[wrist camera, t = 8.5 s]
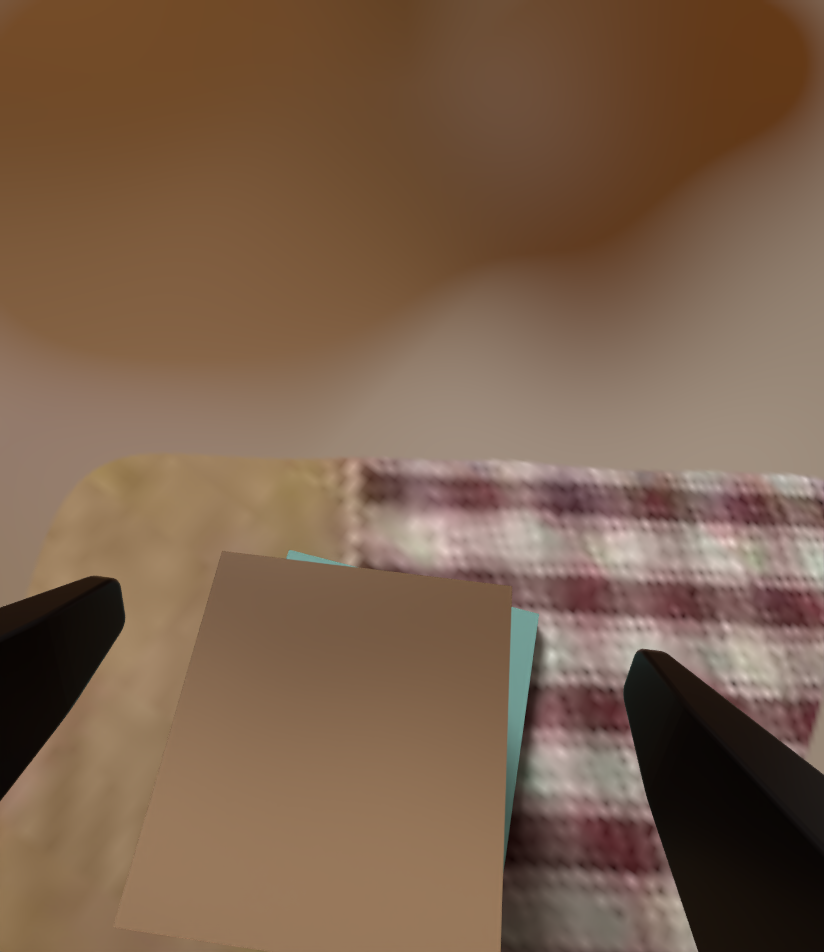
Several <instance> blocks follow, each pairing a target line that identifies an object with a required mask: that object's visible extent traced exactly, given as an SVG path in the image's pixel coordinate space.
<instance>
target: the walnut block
mask: <svg viewBox="0 0 824 952" xmlns="http://www.w3.org/2000/svg"><path fill="white" fill-rule="evenodd" d="M511 607H512V586H505V585H497V584H489V583H481V582H472V581H464V580H456V579H448V578H439V577H431V576H423V575H415V574H407V573H398V572H390V571H382V570H374V569H365V568H357V567H349V566H341V565H333V564H324V563H316V562H308V561H300V560H291V559H283V558H275V557H267V556H259V555H250V554H242V553H234V552H226V551H222V553H221V556H220V560H219V563H218V567H217V570H216V574H215V577H214V581H213V584H212V587H211V591H210V594H209V598H208V601H207V605H206V608H205V612H204V615H203V619H202V622H201V625H200V629H199V632H198V636H197V639H196V643H195V646H194V650H193V653H192V656H191V660H190V663H189V667H188V670H187V674H186V677H185V681H184V684H183V688H182V691H181V694H180V698H179V701H178V705H177V708H176V712H175V715H174V719H173V722H172V726H171V729H170V732H169V736H168V739H167V743H166V746H165V750H164V753H163V757H162V760H161V763H160V767H159V770H158V774H157V777H156V781H155V784H154V788H153V791H152V795H151V798H150V801H149V805H148V808H147V812H146V815H145V819H144V822H143V826H142V829H141V832H140V836H139V839H138V843H137V846H136V850H135V853H134V857H133V860H132V864H131V867H130V870H129V874H128V877H127V881H126V884H125V888H124V891H123V895H122V898H121V902H120V905H119V908H118V912H117V915H116V919H115V922H114V926H113V927H114V928H121V929H127V930H133V931H140V932H146V933H153V934H159V935H166V936H172V937H179V938H185V939H192V940H198V941H205V942H211V943H217V944H224V945H230V946H237V947H243V948H250V949H256V950H263V951H269V952H500V951H501V920H502V888H503V857H504V826H505V795H506V763H507V732H508V701H509V670H510V638H511Z"/></svg>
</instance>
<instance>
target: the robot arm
mask: <svg viewBox="0 0 824 952" xmlns="http://www.w3.org/2000/svg"><path fill="white" fill-rule="evenodd" d="M124 623H125V611H124V604H123V598H122V592H121V586H120V583H119V582H118V580H116V579H114V578H109V577H102V576H89V577H86V578H83V579H81V580H78V581H75V582H72V583H69V584H66V585H63V586H61V587H58V588H55V589H52V590H49V591H46V592H43V593H41V594H38V595H35V596H32V597H29V598H26V599H23V600H21V601H18V602H15V603H12V604H9V605H6V606H3V607H1V608H0V801H1V800H2V798H3V797H4V796H5V795H6V793H7V792H8V791H9V789H10V788H11V787H12V786H13V784H14V783H15V782H16V780H17V779H18V778H19V776H20V775H21V774H22V773H23V771H24V770H25V769H26V767H27V766H28V765H29V764H30V762H31V761H32V760H33V758H34V757H35V756H36V755H37V753H38V752H39V751H40V749H41V748H42V747H43V746H44V744H45V743H46V742H47V740H48V739H49V738H50V736H51V735H52V734H53V733H54V731H55V730H56V729H57V727H58V726H59V725H60V723H61V722H62V721H63V719H64V718H65V717H66V715H67V714H68V713H69V711H70V710H71V708H72V707H73V705H74V704H75V702H76V701H77V700H78V698H79V697H80V695H81V693H82V692H83V690H84V689H85V687H86V686H87V684H88V683H89V681H90V679H91V678H92V676H93V675H94V673H95V672H96V670H97V668H98V667H99V665H100V664H101V662H102V661H103V659H104V658H105V656H106V654H107V653H108V651H109V650H110V648H111V647H112V645H113V644H114V642H115V640H116V639H117V637H118V636H119V634H120V633H121V631H122V629H123V626H124ZM623 695H624V702H625V707H626V711H627V715H628V720H629V724H630V728H631V733H632V737H633V741H634V746H635V750H636V754H637V759H638V763H639V768H640V772H641V776H642V780H643V784H644V788H645V792H646V796H647V799H648V802H649V806H650V809H651V812H652V815H653V818H654V821H655V824H656V827H657V830H658V833H659V836H660V839H661V842H662V845H663V848H664V851H665V854H666V857H667V860H668V863H669V866H670V869H671V872H672V875H673V878H674V881H675V884H676V887H677V890H678V893H679V896H680V899H681V902H682V905H683V908H684V911H685V913H686V916H687V919H688V922H689V925H690V928H691V931H692V934H693V937H694V940H695V943H696V946H697V949H698V952H824V775H823V774H822V773H821V772H820V771H818V770H817V769H816V768H814V767H813V766H812V765H811V764H809V763H808V762H807V761H805V760H804V759H803V758H802V757H800V756H799V755H798V754H796V753H795V752H794V751H792V750H791V749H790V748H789V747H787V746H786V745H785V744H783V743H782V742H781V741H780V740H778V739H777V738H776V737H774V736H773V735H772V734H771V733H769V732H768V731H767V730H765V729H764V728H763V727H761V726H760V725H759V724H758V723H756V722H755V721H754V720H752V719H751V718H750V717H749V716H747V715H746V714H745V713H743V712H742V711H741V710H740V709H738V708H737V707H736V706H734V705H733V704H732V703H730V702H729V701H728V700H727V699H725V698H724V697H723V696H721V695H720V694H719V693H718V692H716V691H715V690H714V689H712V688H711V687H710V686H709V685H707V684H706V683H705V682H703V681H702V680H701V679H699V678H698V677H697V676H696V675H694V674H693V673H692V672H690V671H689V670H688V669H687V668H685V667H684V666H683V665H681V664H680V663H679V662H678V661H676V660H675V659H674V658H672V657H671V656H670V655H668V654H667V653H665V652H662V651H656V650H648V649H640V650H638V651H637V652H636V654H635V656H634V659H633V661H632V664H631V667H630V670H629V673H628V676H627V679H626V682H625V685H624V693H623Z"/></svg>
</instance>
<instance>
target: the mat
mask: <svg viewBox="0 0 824 952" xmlns="http://www.w3.org/2000/svg"><path fill="white" fill-rule="evenodd" d="M286 559H291V560H300V561H308V562H316V563H324V564H333V565H341V566H349V567H354V566H350V565H346V564H342V563H338V562H334V561H331V560H327V559H323V558H319V557H315V556H311V555H307V554H303V553H299V552H295V551H292V550H289V552H288V555H287V558H286ZM357 568H358V567H357ZM538 617H539V614H537V613H533V612H529V611H525V610H521V609H517V608H514V607H511V638H510V670H509V701H508V732H507V763H506V795H505V826H504V857H503V872H504V865H505V858H506V850H507V843H508V836H509V828H510V821H511V814H512V807H513V799H514V792H515V785H516V778H517V770H518V763H519V756H520V748H521V741H522V734H523V727H524V719H525V712H526V705H527V697H528V690H529V683H530V676H531V668H532V661H533V654H534V647H535V639H536V632H537V625H538Z"/></svg>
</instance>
